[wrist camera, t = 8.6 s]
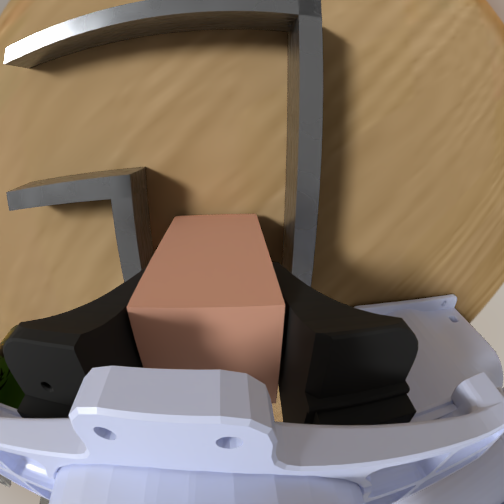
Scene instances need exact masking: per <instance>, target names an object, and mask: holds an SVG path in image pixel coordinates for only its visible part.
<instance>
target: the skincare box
mask: <svg viewBox="0 0 504 504" xmlns="http://www.w3.org/2000/svg"><path fill="white" fill-rule="evenodd" d="M49 501H50V500H48V499H46V498H44V497H41V499H40V504H49Z"/></svg>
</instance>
